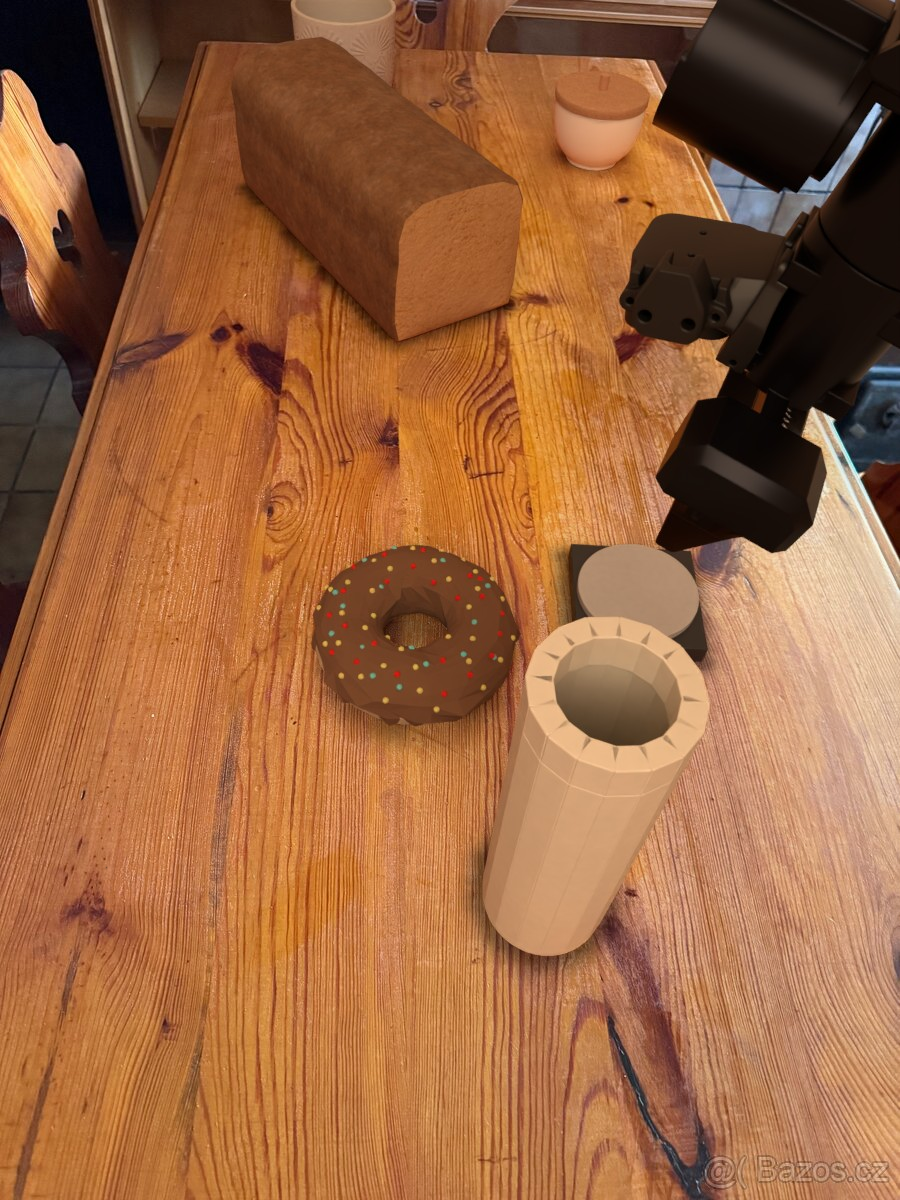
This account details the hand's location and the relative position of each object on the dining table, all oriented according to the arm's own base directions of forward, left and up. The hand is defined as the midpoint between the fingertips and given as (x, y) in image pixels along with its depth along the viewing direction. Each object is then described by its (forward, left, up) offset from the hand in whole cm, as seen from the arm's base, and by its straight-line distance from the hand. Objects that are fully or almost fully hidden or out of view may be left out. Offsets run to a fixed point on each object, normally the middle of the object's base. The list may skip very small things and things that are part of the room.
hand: (687, 488), depth 48 cm
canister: (-11, +13, -17) cm, 24 cm away
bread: (+56, -4, -18) cm, 59 cm away
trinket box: (+65, -36, -18) cm, 76 cm away
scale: (+4, -4, -17) cm, 18 cm away
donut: (+7, +13, -18) cm, 23 cm away
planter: (+89, -14, -18) cm, 91 cm away
